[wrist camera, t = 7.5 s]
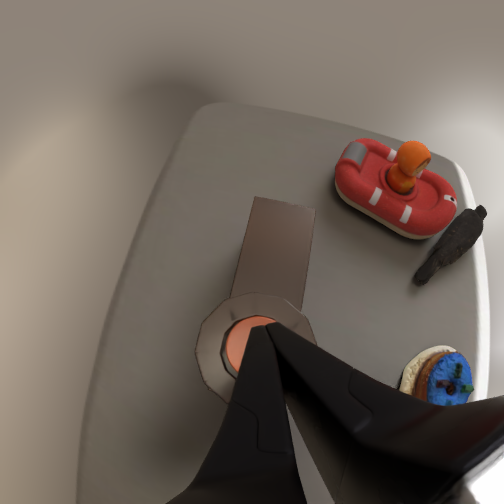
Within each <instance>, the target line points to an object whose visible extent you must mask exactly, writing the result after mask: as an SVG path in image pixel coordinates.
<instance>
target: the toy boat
mask: <svg viewBox="0 0 504 504" xmlns="http://www.w3.org/2000/svg"><path fill="white" fill-rule="evenodd" d="M430 160H431V155H430V152H429V150H428V149H427V148H426V146H425V145H423V144H422V143H420V142H417V141H408V142H406V143H404V144H403V145H402V146H401V147H400V148H399V150H398V152H396V151H394V150H392V149H390V148H389V147H387V146H385V145H383V144H381V143H380V142H378V141H375V140H372V139H367V138H363V139H358V140H355V141H352V142H350V143H349V145H348V146H347V147H346V148H345V150H344V151H343V153H342V155H341V157H340V159H339V161H338V163H337V165H336V167H335V186H336V189H337V192H338V194H339V195H340V197H341V198H342V199H343V200H344V201H345V202H346V203H347V204H349V205H351V206H352V207H354V208H356V209H358V210H359V211H361V212H363V213H365V214H366V215H368V216H370V217H372V218H373V219H375V220H377V221H378V222H380V223H382V224H383V225H385V226H387V227H388V228H390V229H392V230H393V231H395V232H397V233H398V234H400V235H402V236H405V237H407V238H411V239H426V238H429V237H432V236H434V235H435V234H437V233H438V232H439V231H441V230H442V229H444V228H445V227H446V226H447V225H448V224H449V223H450V221H451V220H452V219H453V217H454V215H455V212H456V209H457V198H456V194H455V192H454V190H453V188H452V186H451V185H450V184H449V183H448V182H447V181H446V180H445V179H444V178H442V177H441V176H439V175H437V174H435V173H433V172H431V171H429V170H426V169H424V168H425V167H426V166H427V165H428V163H429V162H430Z"/></svg>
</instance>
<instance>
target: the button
mask: <svg viewBox="0 0 504 504" xmlns="http://www.w3.org/2000/svg"><path fill="white" fill-rule="evenodd" d="M273 322H276V321H274V320H273V319H270V318H267V317H261V316H256V317H250V318H247V319H244V320H242V321H241V322H239V323H238V324H237V325H235V326H234V328H233V329H232V330H231V332H230V333H229V335H228V338H227V341H226V355H227V358H228V361H229V363H230V365H231V366H232V367H233V369H234V370H235V371H236V372H237V373H238V371H239V368H240V364H241V361H242V357H243V354H244V351H245V347H246V344H247V340H248V337H249V333H250V330H251V328H252V327H255V326H259V325H264V326H265V325H266V324H269V323H273Z"/></svg>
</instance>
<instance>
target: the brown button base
mask: <svg viewBox="0 0 504 504" xmlns="http://www.w3.org/2000/svg"><path fill="white" fill-rule="evenodd" d="M315 212H316V209H313V208H309V207H304V206H300V205H295V204H290V203H286V202H281V201H276V200H271V199H266V198H261V197H256V196H255V197H254V201H253V205H252V209H251V213H250V217H249V221H248V225H247V229H246V233H245V237H244V241H243V245H242V249H241V253H240V257H239V261H238V265H237V269H236V274H235V278H234V282H233V286H232V290H231V294H230V298H229V299H226V300H224V301H223V302H222V303H221V304H220V305H219V306H218V307H217V308H216V309H215V310H214V311H213V312H212V313H211V314H210V315H209V316H208V317H207V318H206V319H205V320H204V321H203V323H202V324H201V328H200V332H199V336H198V340H197V344H196V348H195V356H196V359H197V363H198V366H199V369H200V373H201V376H202V379H203V382H205V385H207V386H208V390H209V391H213V392H214V393H215V394H216V395H218V396H219V397H220V398H221V399H222V400H223V401H224V402H225V403H227V404H229V401H230V398H231V395H232V391H233V388H234V385H235V381H236V378H237V375H238V373H237V372H236V371H235V370H234V369H233V367H232V366H231V365H230V363H229V361H228V358H227V355H226V341H227V338H228V335H229V333H230V332H231V330H232V329H233V328H234V326H235V325H237V324H238V323H239V322H241V321H242V320H244V319H247V318H250V317H256V316H261V317H267V318H270V319H273V320H274V321H276V322H279V323H281V324H283V325H284V326H286V327H287V328H289V329H291V330H292V331H294V332H295V333H297V334H299V335H300V336H302V337H303V338H305V339H307V340H308V341H310V342H312V343H313V344H315V345H316V346H317V343H316V340H315V337H314V335H313V332H312V329H311V326H310V324H309V321H308V319H307V318H306V316H305V315H304V314H302V313H301V308H302V302H303V296H304V290H305V284H306V277H307V271H308V264H309V257H310V250H311V243H312V236H313V228H314V220H315ZM285 403H286V402H285Z"/></svg>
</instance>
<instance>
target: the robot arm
mask: <svg viewBox="0 0 504 504" xmlns="http://www.w3.org/2000/svg"><path fill="white" fill-rule="evenodd" d="M285 402H286V403H285ZM286 404H287V406H288V408H289V411H290V413H291V415H292V417H293V419H294V421H295V423H296V425H297V427H298V430H299V432H300V434H301V436H302V438H303V440H304V442H305V444H306V446H307V448H308V450H309V452H310V454H311V456H312V458H313V461H314V463H315V465H316V467H317V469H318V471H319V473H320V475H321V477H322V479H323V481H324V483H325V485H326V487H327V489H328V491H329V493H330V495H331V497H332V499H333V500H334V502H335V504H504V395H502V396H498V397H494V398H489V399H484V400H479V401H474V402H469V403H463V404H458V405H450V406H444V405H437V404H433V403H430V402H427V401H424V400H422V399H419V398H417V397H414V396H412V395H409V394H407V393H404V392H402V391H399V390H397V389H394V388H392V387H390V386H388V385H385V384H383V383H381V382H379V381H377V380H375V379H373V378H371V377H369V376H367V375H366V374H364V373H362V372H360V371H359V370H357V369H355V368H354V369H353V367H352V366H350V365H348V364H346V363H345V362H343V361H341V360H340V359H338V358H336V357H335V356H333V355H331V354H330V353H328V352H326V351H325V350H323V349H321V348H320V347H318V346H316V345H315V344H313V343H312V342H310V341H308V340H307V339H305V338H303V337H302V336H300V335H299V334H297V333H295V332H294V331H292V330H291V329H289V328H287V327H286V326H284V325H283V324H281V323H279V322H273V323H269V324H266V325H265V326H264V325H259V326H255V327H252V328H251V330H250V333H249V337H248V340H247V344H246V347H245V351H244V354H243V357H242V361H241V364H240V368H239V371H238V375H237V378H236V381H235V385H234V388H233V391H232V395H231V398H230V401H229V404H228V408H227V411H226V414H225V417H224V419H223V422H222V425H221V427H220V429H219V432H218V434H217V436H216V438H215V440H214V442H213V444H212V446H211V448H210V450H209V452H208V454H207V456H206V458H205V460H204V462H203V463H202V465H201V467H200V469H199V471H198V473H197V475H196V476H195V478H194V480H193V481H192V482H191V484H190V485H189V486H188V487H187V488H186V489H185V490H184V491H183V492H181V493H180V494H179V495H177V496H176V497H174V498H173V499H172V500H170V501H169V502H167V503H166V504H307V501H306V498H305V494H304V491H303V487H302V484H301V480H300V477H299V473H298V468H297V464H296V458H295V453H294V447H293V442H292V436H291V431H290V425H289V420H288V414H287V409H286Z"/></svg>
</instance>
